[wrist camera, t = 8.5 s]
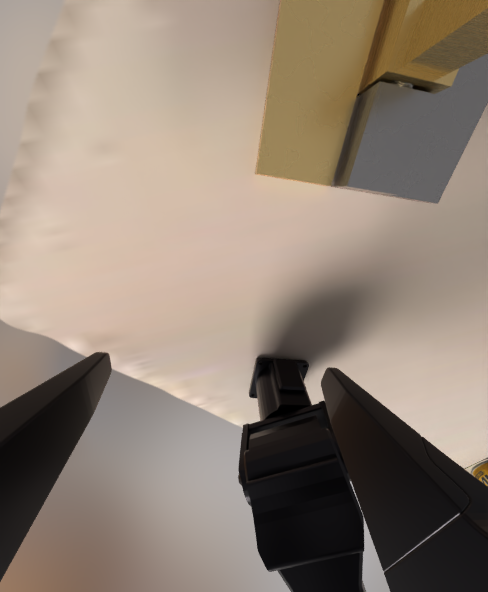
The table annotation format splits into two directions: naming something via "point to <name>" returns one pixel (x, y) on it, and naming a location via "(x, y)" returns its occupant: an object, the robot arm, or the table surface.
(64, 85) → the table surface
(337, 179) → the fixed leaf
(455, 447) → the table surface
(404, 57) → the brass block assembly
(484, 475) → the condiment
